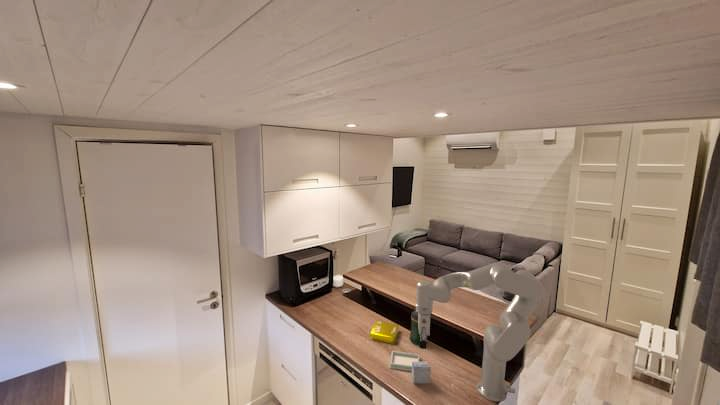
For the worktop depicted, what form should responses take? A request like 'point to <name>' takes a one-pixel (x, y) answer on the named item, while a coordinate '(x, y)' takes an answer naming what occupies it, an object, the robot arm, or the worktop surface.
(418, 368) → the medicine box
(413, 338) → the coffee jar
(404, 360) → the white rectangular tray
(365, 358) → the worktop surface
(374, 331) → the element tile
